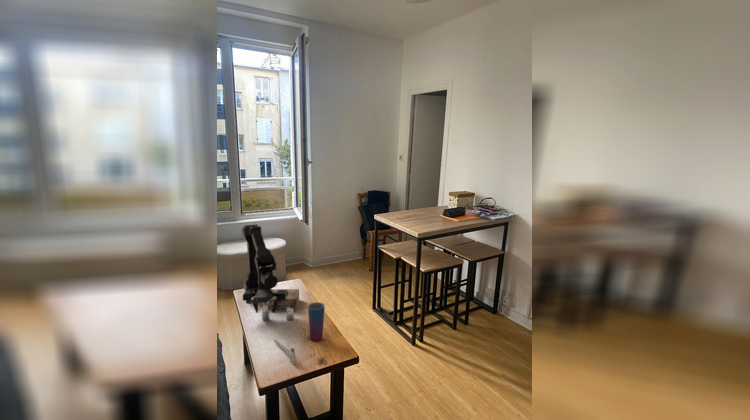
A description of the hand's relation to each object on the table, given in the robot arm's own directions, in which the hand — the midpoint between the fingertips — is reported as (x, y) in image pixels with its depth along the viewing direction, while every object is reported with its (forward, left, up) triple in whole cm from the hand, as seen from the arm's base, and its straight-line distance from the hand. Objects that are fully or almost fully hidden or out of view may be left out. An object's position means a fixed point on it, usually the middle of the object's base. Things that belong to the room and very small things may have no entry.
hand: (265, 312), depth 170 cm
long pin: (0, 0, -4) cm, 4 cm away
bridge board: (+6, +15, -4) cm, 17 cm away
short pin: (+11, 0, -4) cm, 12 cm away
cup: (+24, -18, -4) cm, 30 cm away
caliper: (+12, -27, -4) cm, 30 cm away
